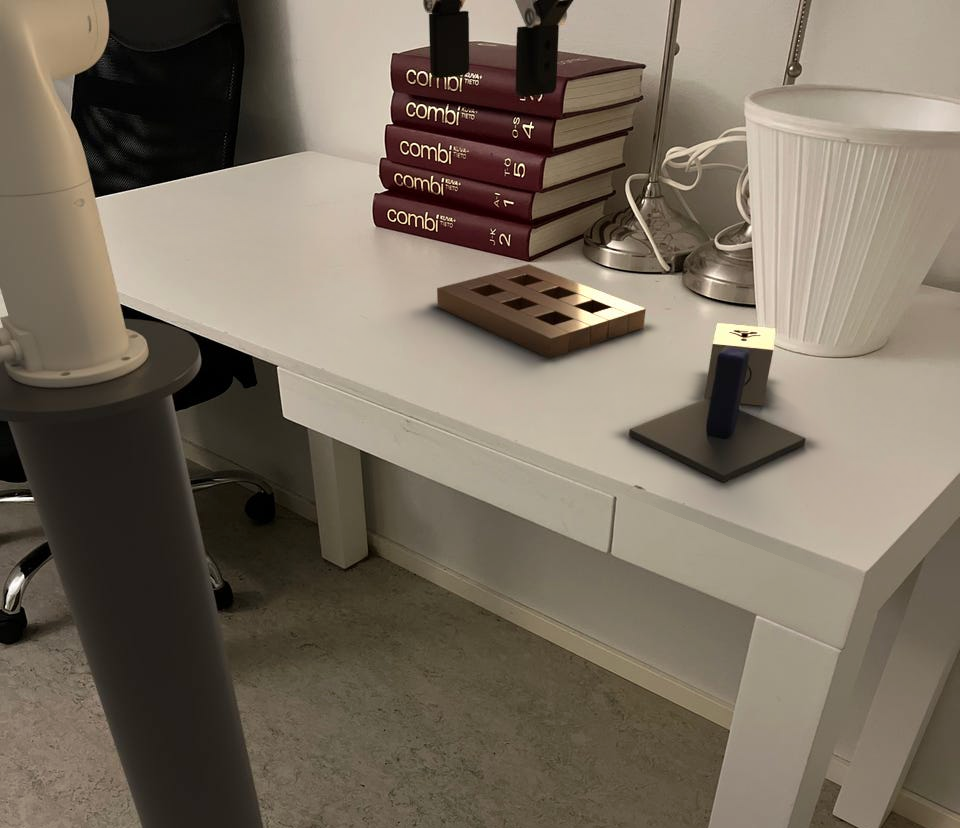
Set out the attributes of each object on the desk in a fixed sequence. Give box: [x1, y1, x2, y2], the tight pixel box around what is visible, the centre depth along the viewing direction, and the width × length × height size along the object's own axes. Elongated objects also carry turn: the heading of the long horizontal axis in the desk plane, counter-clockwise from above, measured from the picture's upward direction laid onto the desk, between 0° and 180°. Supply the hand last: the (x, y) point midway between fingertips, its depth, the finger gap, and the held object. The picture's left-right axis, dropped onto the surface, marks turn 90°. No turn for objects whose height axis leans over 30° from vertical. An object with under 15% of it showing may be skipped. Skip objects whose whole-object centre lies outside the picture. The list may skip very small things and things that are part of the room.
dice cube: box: [703, 322, 776, 407], centre depth 84 cm, size 5×5×5 cm
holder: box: [436, 264, 646, 359], centre depth 100 cm, size 13×18×2 cm
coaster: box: [628, 397, 807, 483], centre depth 78 cm, size 10×10×1 cm
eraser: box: [706, 346, 749, 439], centre depth 76 cm, size 2×2×7 cm
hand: (491, 84), depth 69 cm, fingers open, 9 cm apart
